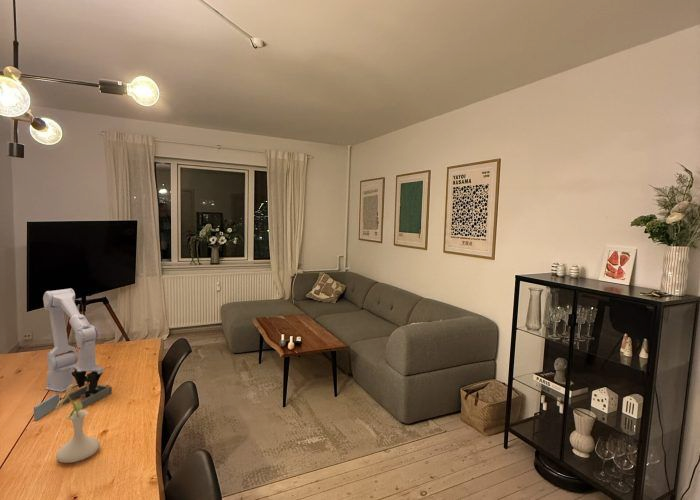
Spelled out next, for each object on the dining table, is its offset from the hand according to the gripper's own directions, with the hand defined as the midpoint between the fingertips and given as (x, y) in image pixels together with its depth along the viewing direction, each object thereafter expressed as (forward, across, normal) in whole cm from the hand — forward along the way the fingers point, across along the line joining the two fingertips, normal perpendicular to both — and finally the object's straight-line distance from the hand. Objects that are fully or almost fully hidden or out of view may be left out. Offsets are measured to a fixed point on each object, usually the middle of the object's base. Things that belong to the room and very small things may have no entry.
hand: (87, 387), depth 154 cm
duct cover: (+5, -4, -13) cm, 15 cm away
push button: (+5, 0, +1) cm, 5 cm away
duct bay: (+5, 0, -1) cm, 5 cm away
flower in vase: (+5, +31, -31) cm, 44 cm away
